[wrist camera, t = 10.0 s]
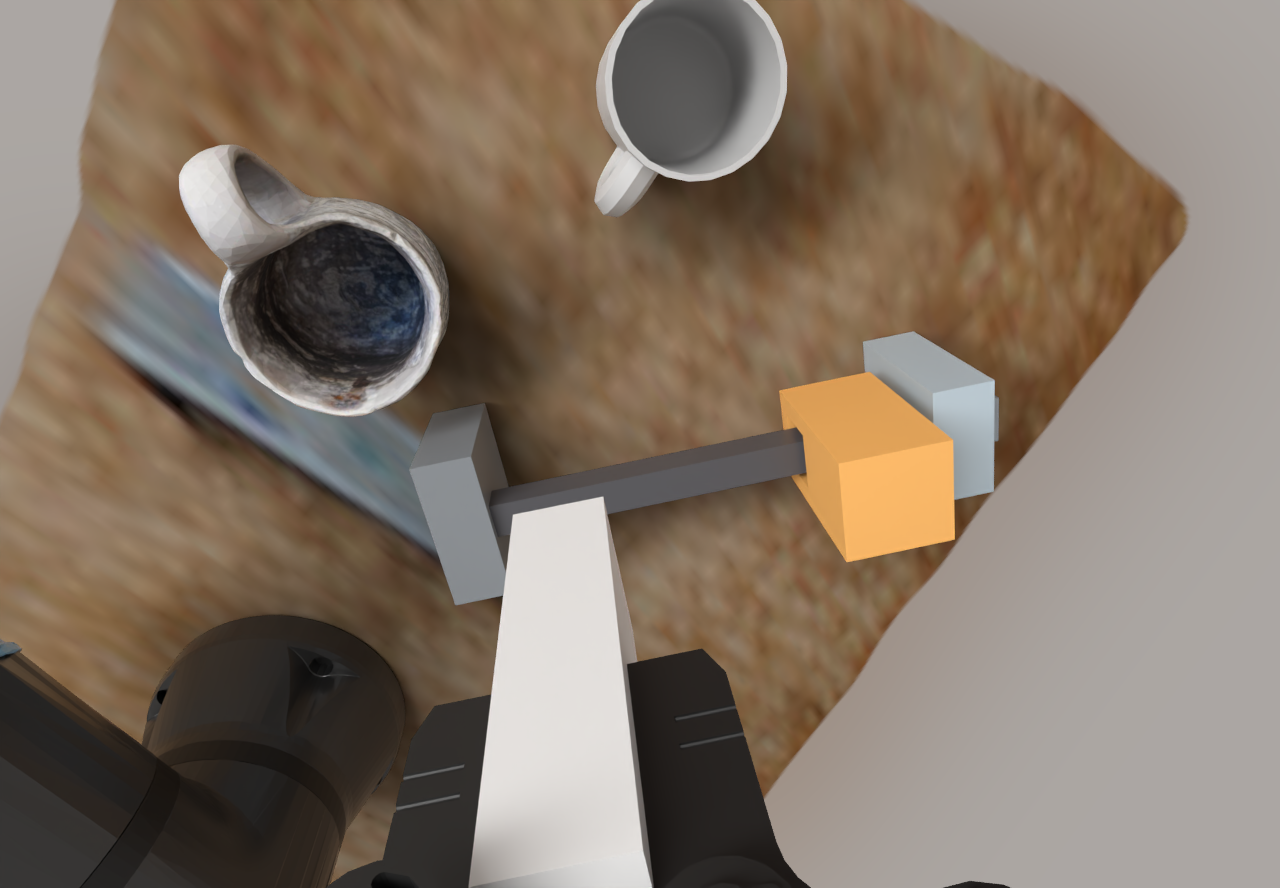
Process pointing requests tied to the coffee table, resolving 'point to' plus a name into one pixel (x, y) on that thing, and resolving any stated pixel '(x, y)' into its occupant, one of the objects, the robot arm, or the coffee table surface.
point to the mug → (317, 285)
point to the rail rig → (672, 463)
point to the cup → (687, 94)
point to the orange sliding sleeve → (872, 466)
